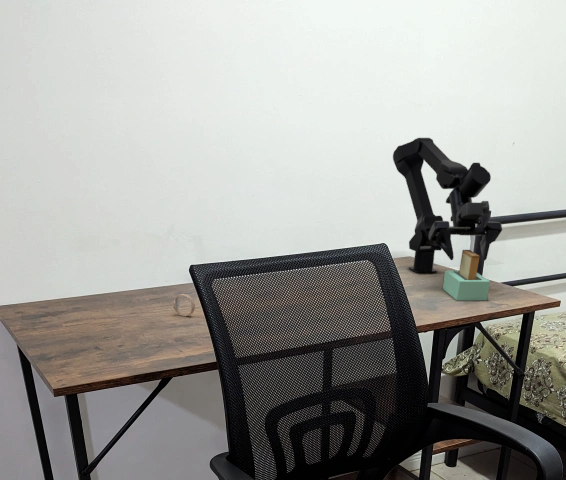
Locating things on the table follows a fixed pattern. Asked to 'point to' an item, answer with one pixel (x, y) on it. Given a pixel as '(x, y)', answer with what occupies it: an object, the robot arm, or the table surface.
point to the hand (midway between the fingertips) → (468, 259)
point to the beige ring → (176, 305)
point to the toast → (469, 264)
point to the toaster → (466, 286)
